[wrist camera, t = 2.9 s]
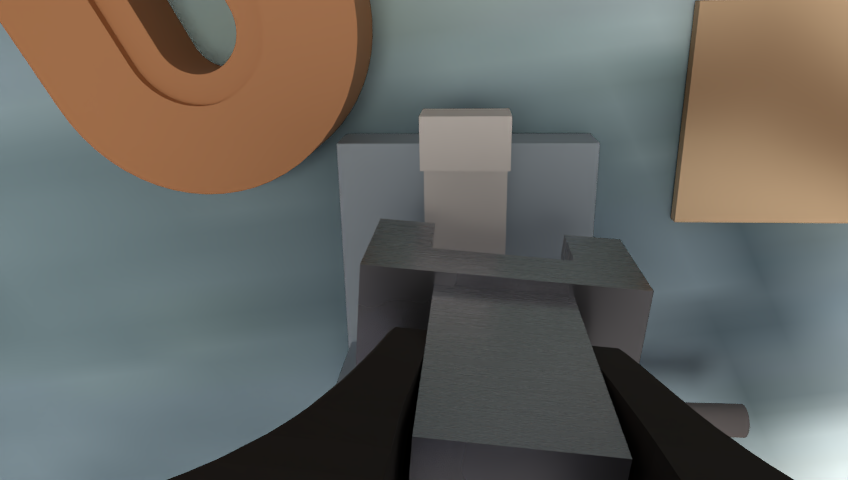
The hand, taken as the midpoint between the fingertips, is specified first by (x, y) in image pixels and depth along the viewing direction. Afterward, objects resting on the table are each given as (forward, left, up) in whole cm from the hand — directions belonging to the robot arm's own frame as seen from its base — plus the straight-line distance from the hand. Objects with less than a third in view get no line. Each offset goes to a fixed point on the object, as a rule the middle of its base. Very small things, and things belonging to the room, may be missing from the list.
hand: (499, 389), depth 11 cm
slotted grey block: (0, 0, -4) cm, 4 cm away
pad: (+3, -8, -9) cm, 13 cm away
